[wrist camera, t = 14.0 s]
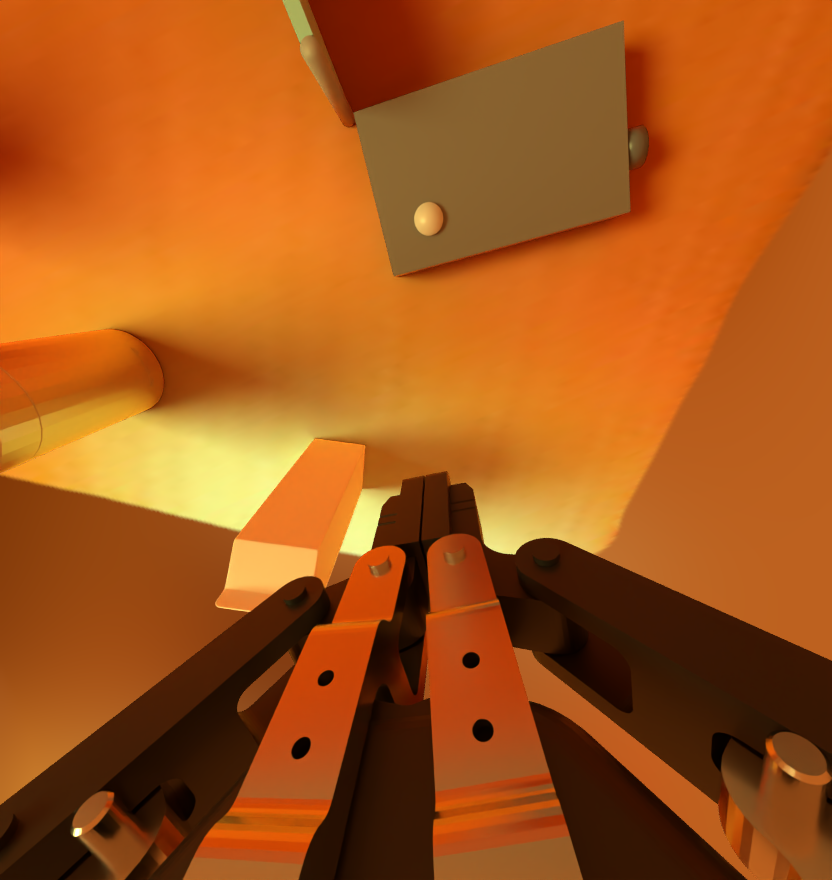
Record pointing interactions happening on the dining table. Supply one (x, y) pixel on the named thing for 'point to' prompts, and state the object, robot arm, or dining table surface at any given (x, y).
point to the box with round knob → (504, 153)
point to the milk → (296, 525)
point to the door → (318, 57)
